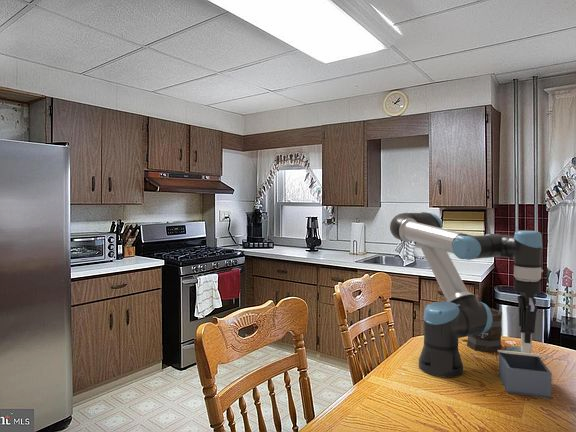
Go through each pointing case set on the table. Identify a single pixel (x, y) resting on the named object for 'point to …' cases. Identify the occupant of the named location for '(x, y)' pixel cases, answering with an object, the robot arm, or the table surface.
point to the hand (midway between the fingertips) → (526, 351)
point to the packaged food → (513, 349)
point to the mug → (488, 336)
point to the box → (524, 375)
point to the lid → (525, 354)
